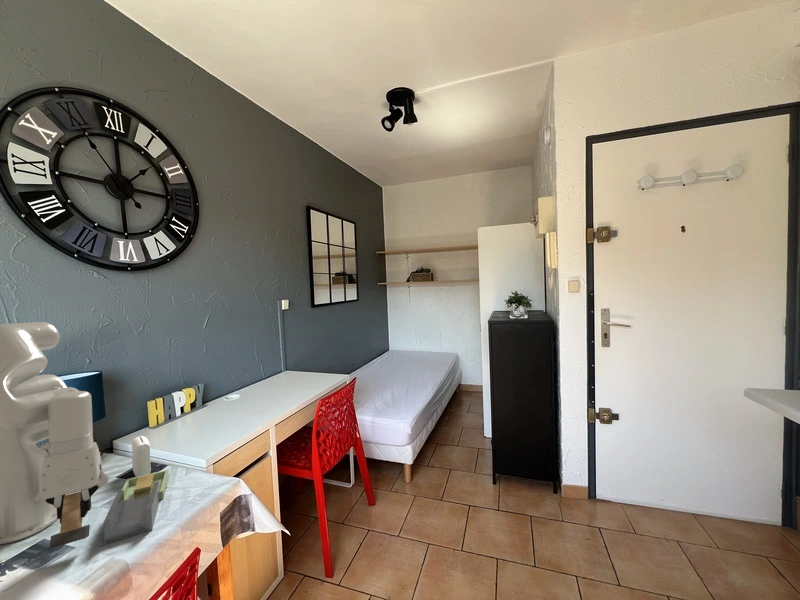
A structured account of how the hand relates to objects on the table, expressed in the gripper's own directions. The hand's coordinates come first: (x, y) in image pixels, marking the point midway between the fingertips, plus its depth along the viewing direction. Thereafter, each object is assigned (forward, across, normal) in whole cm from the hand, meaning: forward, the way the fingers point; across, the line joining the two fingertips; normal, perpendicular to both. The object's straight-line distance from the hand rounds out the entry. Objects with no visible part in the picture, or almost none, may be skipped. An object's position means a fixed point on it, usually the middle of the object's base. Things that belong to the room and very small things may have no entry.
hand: (74, 516), depth 79 cm
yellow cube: (+5, +11, +16) cm, 20 cm away
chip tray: (+7, +11, +18) cm, 23 cm away
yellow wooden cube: (+7, +11, +14) cm, 19 cm away
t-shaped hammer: (+4, 0, -4) cm, 5 cm away
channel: (+8, +11, +4) cm, 14 cm away
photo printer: (+8, +8, +33) cm, 35 cm away
